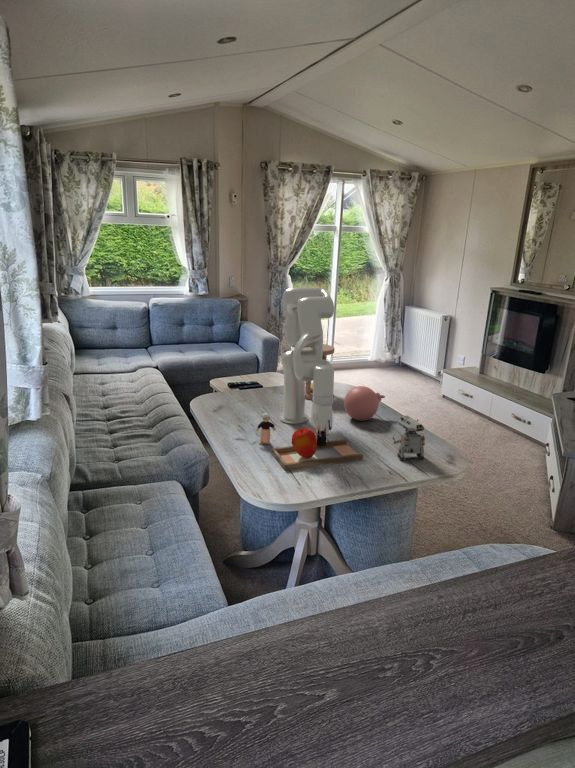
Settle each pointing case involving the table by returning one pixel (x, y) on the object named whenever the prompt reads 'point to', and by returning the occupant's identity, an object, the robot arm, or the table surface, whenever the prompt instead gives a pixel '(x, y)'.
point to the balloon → (362, 403)
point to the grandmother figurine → (265, 429)
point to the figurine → (411, 438)
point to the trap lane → (316, 455)
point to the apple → (304, 442)
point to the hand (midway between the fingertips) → (321, 445)
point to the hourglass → (326, 351)
